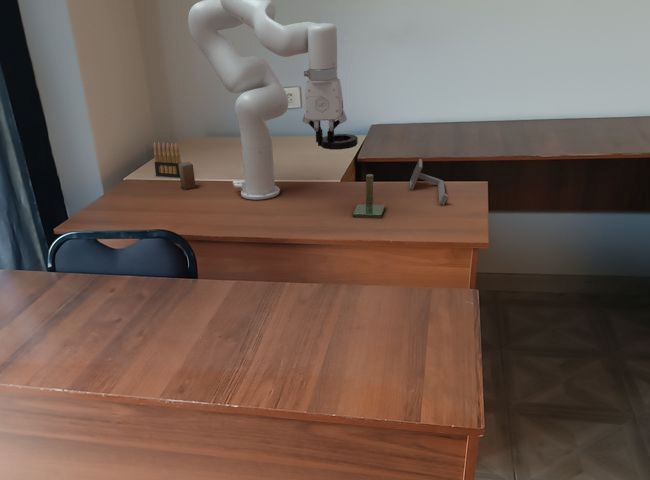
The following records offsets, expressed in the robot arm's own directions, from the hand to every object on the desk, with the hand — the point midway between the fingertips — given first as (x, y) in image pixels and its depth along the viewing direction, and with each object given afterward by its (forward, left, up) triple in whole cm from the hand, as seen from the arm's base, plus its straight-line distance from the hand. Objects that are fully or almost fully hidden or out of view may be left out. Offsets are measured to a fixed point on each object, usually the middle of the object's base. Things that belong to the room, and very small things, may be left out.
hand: (325, 144), depth 187 cm
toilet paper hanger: (+28, +18, -19) cm, 38 cm away
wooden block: (-51, +18, -19) cm, 58 cm away
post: (+13, -1, -19) cm, 23 cm away
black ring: (+4, 0, 0) cm, 4 cm away
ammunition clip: (-63, +30, -19) cm, 73 cm away
